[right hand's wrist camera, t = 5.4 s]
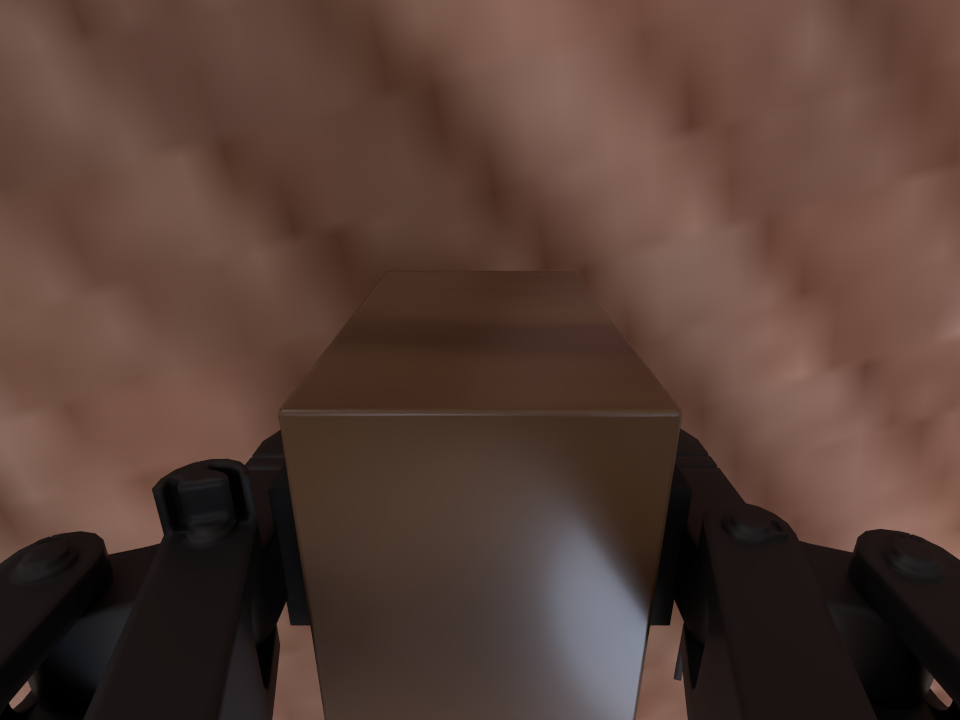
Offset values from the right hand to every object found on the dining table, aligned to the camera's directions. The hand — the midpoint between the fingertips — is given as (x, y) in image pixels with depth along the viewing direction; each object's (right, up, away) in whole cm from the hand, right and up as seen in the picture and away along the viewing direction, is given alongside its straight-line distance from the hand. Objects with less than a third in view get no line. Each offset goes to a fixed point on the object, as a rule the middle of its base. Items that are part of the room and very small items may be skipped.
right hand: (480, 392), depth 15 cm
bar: (0, -9, +4) cm, 10 cm away
